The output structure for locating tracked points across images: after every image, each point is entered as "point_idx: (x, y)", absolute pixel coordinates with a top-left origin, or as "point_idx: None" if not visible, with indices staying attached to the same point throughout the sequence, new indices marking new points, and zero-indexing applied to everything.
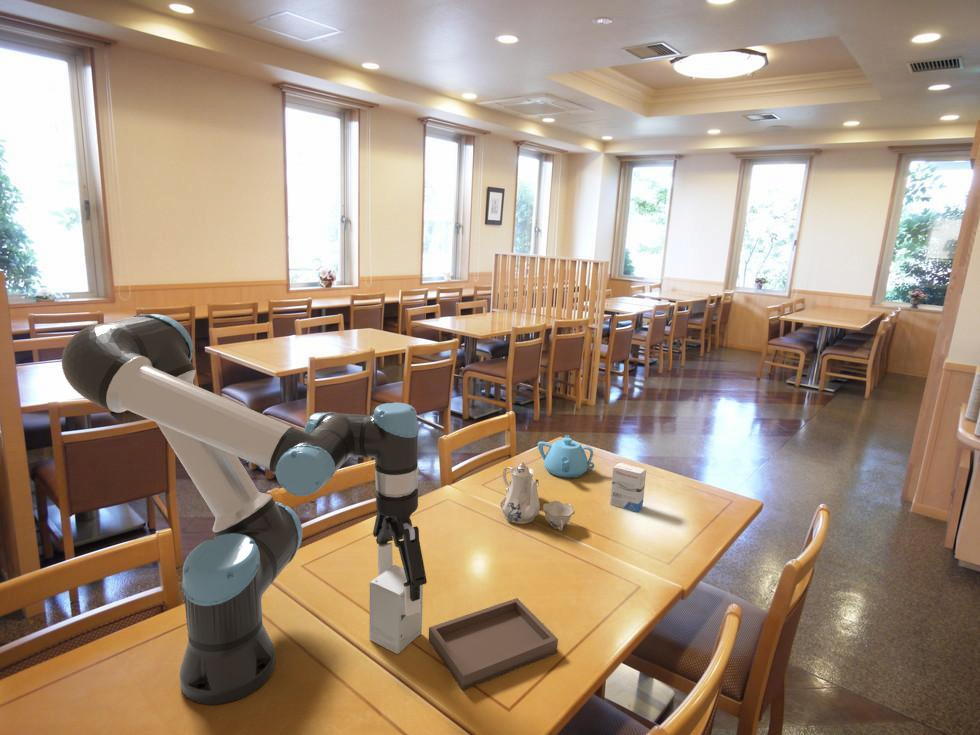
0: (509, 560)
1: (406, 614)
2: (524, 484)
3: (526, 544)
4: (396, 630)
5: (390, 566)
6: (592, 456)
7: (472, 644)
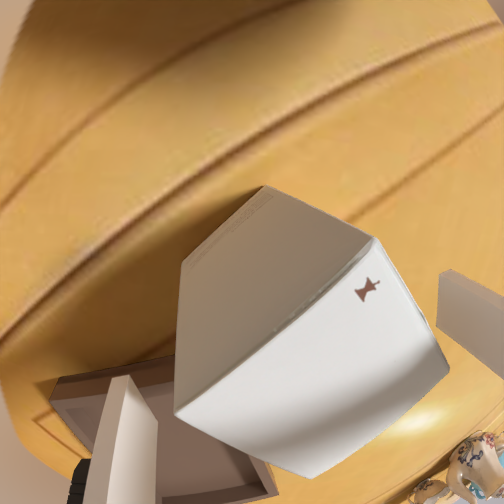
0: (398, 455)
1: (111, 383)
2: (484, 486)
3: (415, 465)
4: (184, 290)
5: (460, 336)
6: (476, 495)
7: (176, 425)
